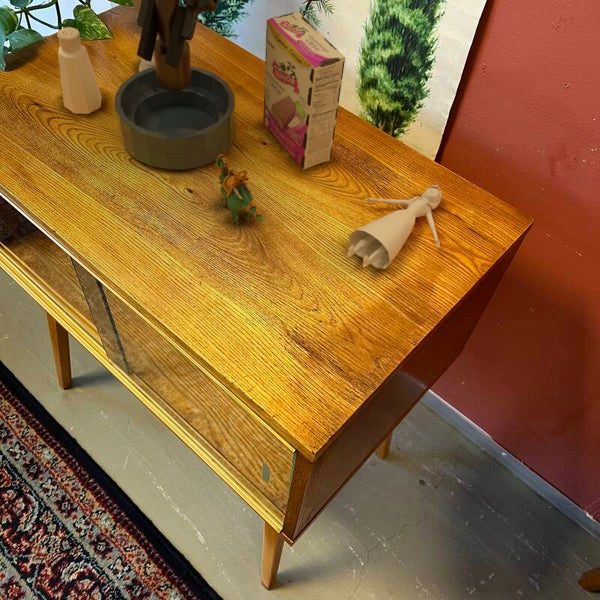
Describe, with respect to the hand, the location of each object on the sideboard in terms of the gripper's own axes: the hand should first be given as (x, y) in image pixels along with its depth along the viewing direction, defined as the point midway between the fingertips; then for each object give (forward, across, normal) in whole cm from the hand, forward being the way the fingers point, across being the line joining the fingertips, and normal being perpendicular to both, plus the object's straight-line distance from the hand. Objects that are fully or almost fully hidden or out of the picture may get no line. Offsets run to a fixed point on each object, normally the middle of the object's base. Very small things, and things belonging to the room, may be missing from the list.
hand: (157, 61), depth 79 cm
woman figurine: (+12, -33, -8) cm, 36 cm away
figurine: (+16, -13, -4) cm, 21 cm away
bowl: (+7, 0, -13) cm, 14 cm away
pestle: (+1, 0, -6) cm, 6 cm away
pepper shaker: (+6, +15, -14) cm, 21 cm away
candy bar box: (+4, -16, -16) cm, 23 cm away
